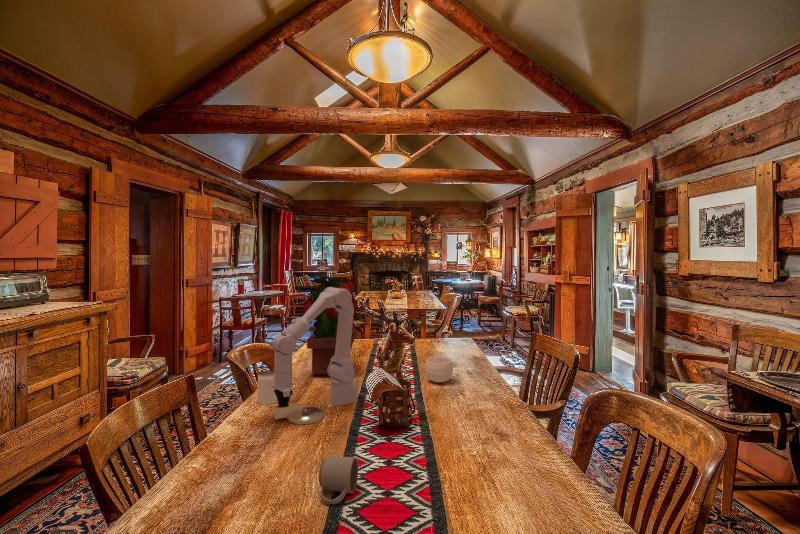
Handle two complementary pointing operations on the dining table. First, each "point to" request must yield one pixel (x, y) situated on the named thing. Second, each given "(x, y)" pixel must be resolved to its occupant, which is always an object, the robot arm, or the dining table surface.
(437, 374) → the cup
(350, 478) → the ceramic mug
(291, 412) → the dial
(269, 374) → the can
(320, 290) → the potted plant
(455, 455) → the dining table surface
